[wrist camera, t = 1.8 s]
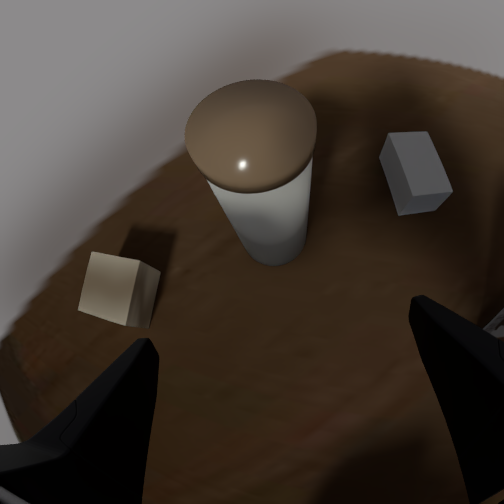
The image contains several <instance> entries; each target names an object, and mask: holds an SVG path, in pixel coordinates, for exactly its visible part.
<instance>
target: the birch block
mask: <svg viewBox="0 0 504 504" xmlns="http://www.w3.org/2000/svg"><path fill="white" fill-rule="evenodd" d="M160 274H161V272H160V271H158V270H156V269H155V268H153V267H151V266H149V265H147V264H145V263H143V262H142V261H139V260H134V259H128V258H123V257H118V256H112V255H107V254H102V253H97V252H92V253H91V257H90V261H89V264H88V268H87V272H86V276H85V281H84V285H83V289H82V294H81V298H80V303H79V308H78V310H79V311H82V312H85V313H88V314H91V315H94V316H97V317H100V318H103V319H106V320H109V321H112V322H115V323H118V324H121V325H125V326H132V327H140V328H149V325H150V320H151V315H152V310H153V305H154V301H155V296H156V291H157V287H158V282H159V278H160Z"/></svg>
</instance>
